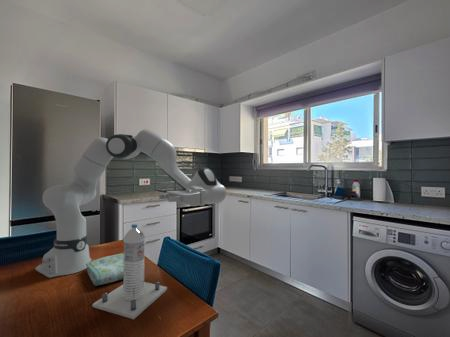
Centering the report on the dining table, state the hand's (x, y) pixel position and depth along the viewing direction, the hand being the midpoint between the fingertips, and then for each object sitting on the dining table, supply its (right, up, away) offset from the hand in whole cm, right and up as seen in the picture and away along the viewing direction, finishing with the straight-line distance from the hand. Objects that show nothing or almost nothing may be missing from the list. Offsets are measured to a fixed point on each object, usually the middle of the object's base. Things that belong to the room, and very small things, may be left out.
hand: (163, 198), depth 85 cm
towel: (-25, -35, +9) cm, 43 cm away
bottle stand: (-8, -34, -10) cm, 36 cm away
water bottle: (-7, -33, -11) cm, 36 cm away
